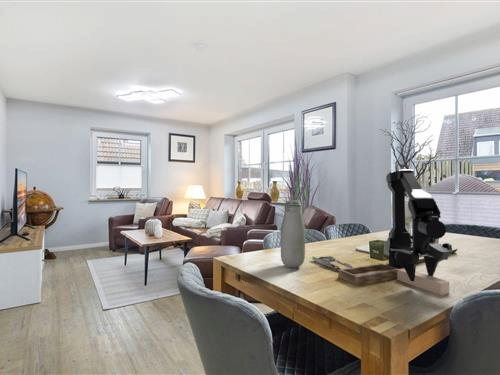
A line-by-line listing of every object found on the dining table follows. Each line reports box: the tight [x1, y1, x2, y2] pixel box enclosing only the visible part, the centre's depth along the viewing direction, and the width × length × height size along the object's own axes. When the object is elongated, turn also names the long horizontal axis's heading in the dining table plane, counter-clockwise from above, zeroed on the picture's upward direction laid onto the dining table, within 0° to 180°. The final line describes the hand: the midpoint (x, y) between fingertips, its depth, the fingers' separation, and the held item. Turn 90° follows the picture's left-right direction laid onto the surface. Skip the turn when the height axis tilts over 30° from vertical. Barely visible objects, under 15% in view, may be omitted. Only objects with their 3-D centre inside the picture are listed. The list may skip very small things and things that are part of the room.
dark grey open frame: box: [311, 255, 353, 272], centre depth 125 cm, size 22×3×10 cm
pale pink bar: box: [396, 268, 450, 296], centre depth 100 cm, size 16×4×4 cm, turn 23°
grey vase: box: [280, 199, 306, 269], centre depth 123 cm, size 10×10×28 cm
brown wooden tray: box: [337, 262, 398, 287], centre depth 109 cm, size 21×10×3 cm, turn 114°
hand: (421, 279), depth 100 cm, fingers open, 9 cm apart
